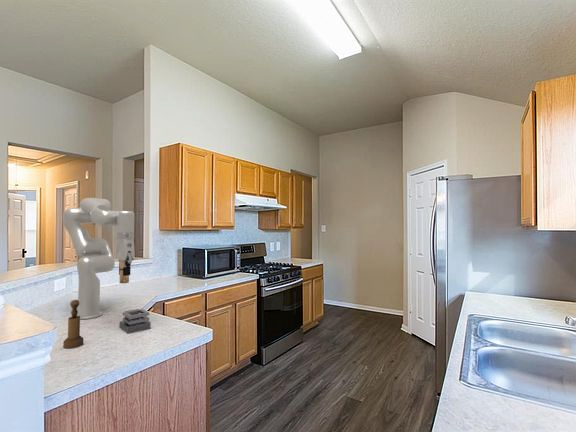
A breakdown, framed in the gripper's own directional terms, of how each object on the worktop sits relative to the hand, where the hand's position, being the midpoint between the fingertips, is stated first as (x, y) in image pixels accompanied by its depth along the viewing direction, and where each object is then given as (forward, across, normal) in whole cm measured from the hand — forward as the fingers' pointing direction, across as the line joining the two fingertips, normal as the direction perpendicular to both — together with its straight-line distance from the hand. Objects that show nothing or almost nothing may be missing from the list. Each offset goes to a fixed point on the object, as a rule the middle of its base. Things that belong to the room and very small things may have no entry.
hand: (124, 274), depth 148 cm
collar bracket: (+24, -7, -2) cm, 26 cm away
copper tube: (+4, 0, 0) cm, 4 cm away
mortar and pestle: (+25, -10, +23) cm, 35 cm away
